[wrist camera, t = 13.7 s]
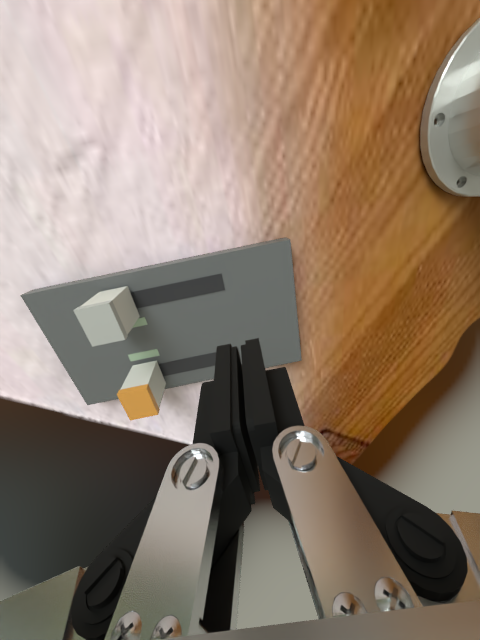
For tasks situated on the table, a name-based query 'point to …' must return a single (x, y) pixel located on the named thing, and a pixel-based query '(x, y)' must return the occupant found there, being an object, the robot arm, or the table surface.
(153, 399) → the block
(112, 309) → the breaker
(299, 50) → the table surface
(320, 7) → the table surface
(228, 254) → the grey slotted panel
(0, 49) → the table surface
